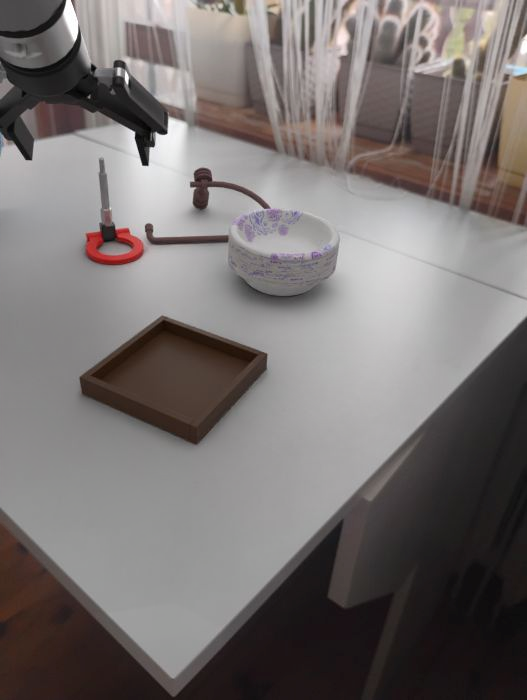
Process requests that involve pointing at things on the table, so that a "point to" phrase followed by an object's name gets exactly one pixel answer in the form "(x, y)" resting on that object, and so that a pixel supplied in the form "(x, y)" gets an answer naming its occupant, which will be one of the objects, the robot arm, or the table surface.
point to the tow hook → (110, 230)
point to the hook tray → (175, 377)
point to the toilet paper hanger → (203, 207)
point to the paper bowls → (282, 250)
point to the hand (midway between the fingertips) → (88, 152)
